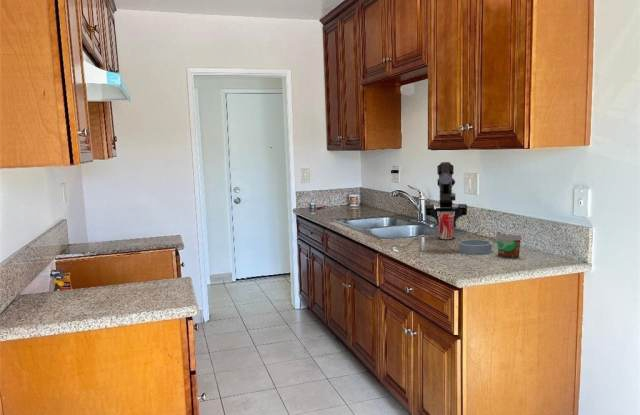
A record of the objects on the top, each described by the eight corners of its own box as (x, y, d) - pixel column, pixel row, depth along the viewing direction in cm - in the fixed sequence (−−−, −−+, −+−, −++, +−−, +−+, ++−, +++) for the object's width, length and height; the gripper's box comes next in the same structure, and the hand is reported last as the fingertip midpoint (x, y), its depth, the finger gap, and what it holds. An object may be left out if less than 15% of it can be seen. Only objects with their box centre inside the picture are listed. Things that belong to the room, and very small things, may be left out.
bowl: (452, 251, 230) (452, 242, 229) (472, 246, 237) (472, 238, 237) (477, 255, 217) (477, 247, 217) (498, 250, 225) (498, 242, 225)
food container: (489, 255, 218) (489, 232, 217) (499, 253, 221) (499, 231, 220) (511, 260, 207) (511, 236, 206) (521, 258, 210) (521, 235, 209)
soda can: (436, 237, 230) (436, 211, 229) (451, 236, 230) (451, 211, 229) (440, 239, 223) (440, 213, 222) (456, 239, 223) (455, 213, 222)
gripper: (425, 187, 230) (424, 214, 221) (466, 186, 225) (467, 214, 216) (426, 202, 239) (425, 228, 229) (466, 201, 234) (467, 228, 225)
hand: (446, 224), depth 225 cm, fingers closed on soda can, 7 cm apart
